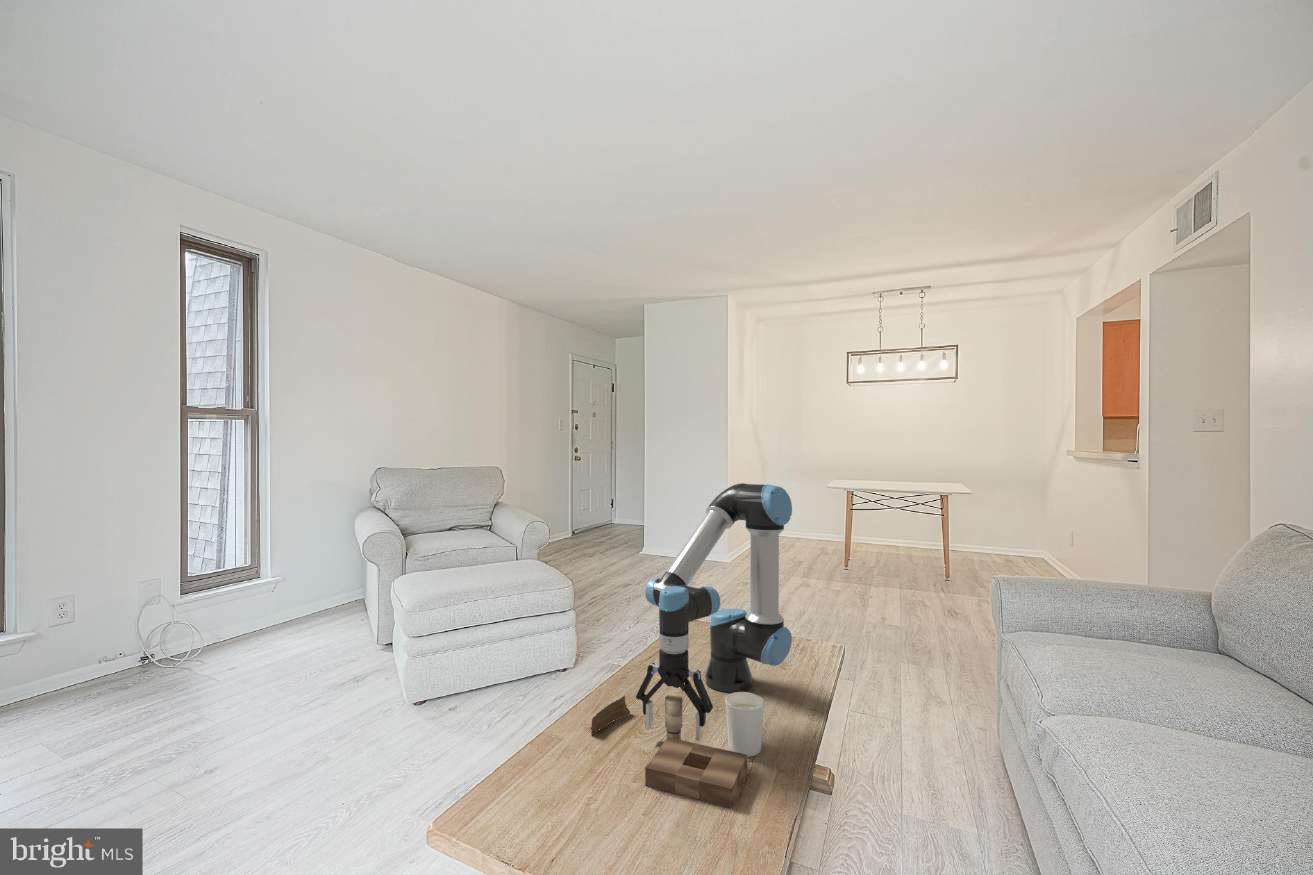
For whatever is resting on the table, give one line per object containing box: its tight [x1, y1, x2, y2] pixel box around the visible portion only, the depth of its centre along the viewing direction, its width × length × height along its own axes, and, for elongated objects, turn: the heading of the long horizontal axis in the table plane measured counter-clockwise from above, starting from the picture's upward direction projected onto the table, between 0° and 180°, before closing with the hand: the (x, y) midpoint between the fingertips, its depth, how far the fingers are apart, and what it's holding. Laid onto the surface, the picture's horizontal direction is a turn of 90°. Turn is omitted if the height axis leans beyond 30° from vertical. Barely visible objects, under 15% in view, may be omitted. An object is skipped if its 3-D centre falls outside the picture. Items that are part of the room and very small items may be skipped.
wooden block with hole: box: [644, 737, 748, 808], centre depth 126 cm, size 14×20×4 cm
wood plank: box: [590, 695, 631, 736], centre depth 151 cm, size 15×2×5 cm, turn 147°
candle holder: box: [724, 691, 765, 758], centre depth 139 cm, size 10×10×12 cm
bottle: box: [664, 693, 683, 740], centre depth 140 cm, size 4×4×12 cm
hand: (673, 732), depth 140 cm, fingers open, 13 cm apart
